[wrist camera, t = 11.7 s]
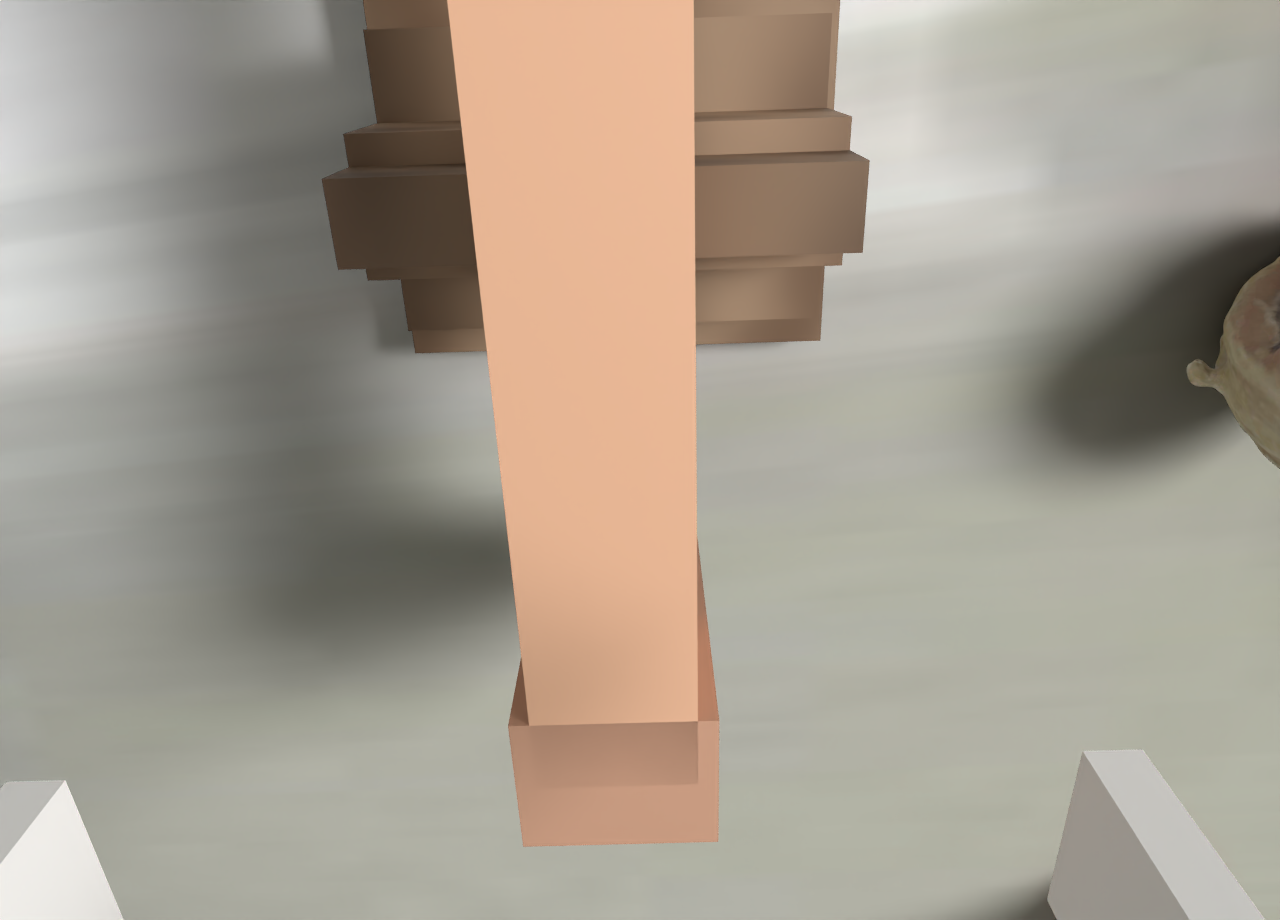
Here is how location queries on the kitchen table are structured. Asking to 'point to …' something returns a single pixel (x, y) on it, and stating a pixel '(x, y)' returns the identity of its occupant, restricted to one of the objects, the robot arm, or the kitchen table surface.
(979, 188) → the kitchen table surface
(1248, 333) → the beige rounded hollow piece
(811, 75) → the ridge stand
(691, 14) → the tan bench shape
